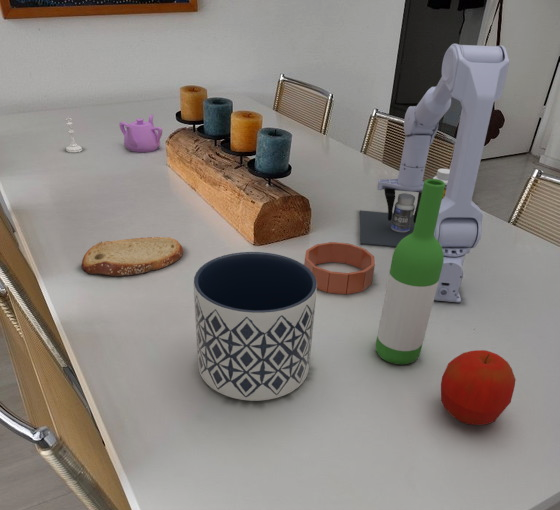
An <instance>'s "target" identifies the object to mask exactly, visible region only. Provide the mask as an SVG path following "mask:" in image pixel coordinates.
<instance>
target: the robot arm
mask: <svg viewBox="0 0 560 510" xmlns="http://www.w3.org/2000/svg"><path fill="white" fill-rule="evenodd" d="M509 68H510V59H509V54H508V51H507V49H506V47H505V45H502V44H501V45H477V44H476V45H475V44H471V45H470V44H458V43H452V44H451V45H450V46H449V47H448V48H447V50H446V51H445V53H444V56H443V58H442V64H441V77H440V79H439V80H438V83H437V84H436V86H431V87H430V88H428V90H427V91H426V92H425V94H424V95H423V96H422V98H421V99H420V100H419V102H418V103H417V104H416V105H415V106H414V105H413V106H412V105H411V106H409V107H408V108H407V109H406V112H405V115H404V120H403V132H404V135H405V137H404V143H403V147H402V153H401V158H400V165H399V169H398V176H397V178H389V179H388V178H387V179H385V178H378V181H377V186H376V187H377V191H383V190H384V196H385V200H386V204H387V213H388V220H389V221H391V219H392V213H393V211H394V206H395V200H396V191H399V192H410V193H412V192H413V193H418V195H417V201H416V207H415V209H414V213H413V215H414V218H413V220H414V223H415V222H416V217H417V213H418V208H419V204H420V199H421V194H422V190H423V185H424V182H425V180H424V175H425V172H426V171H425V170H426V166H427V161H428V156H429V151H430V147H431V146H432V145H433V143H434V139H435V136H436V134H437V132H438V131H439V126H440V125H439V123H440V120H441V119H442V118H443V117H444V115H445V114H446V113H447V112H448V111H449V109H450V108H451V105H452V98H453V99H455V100H457V101H458V102H459V103H460V105H461V114H460V117H459V123H458V126H457V127H458V128H457V133H456V138H455V142H454V146H453V147H454V148H453V153H452V157H451V163H450V168H449V170H450V172H449V177H448V182H447V187H446V193H445V197H444V198H443V199H442V201H441V205H440V210H439V214H438V219H437V223H436V227H435V232H434V237H435V238H436V239H437V240H438V242H439V243H440V245H441V247H442V250H443V255H444V261H443V266H442V270H441V274H440V277H439V282H438V286H437V290H436V294H435V298H434V301H437V302H439V301H440V302H450V303H461V302H462V299H461V295H460V288H461V285H462V281H463V278H464V268H463V265H464V261H465V258H466V255H468V254H470V253H471V249H474V248H476V247H477V246H478V244H479V242H480V241H481V238H482V234H483V233H482V232H483V226H482V225H483V218H484V213H483V210H482V209H481V208H480V207H479V206H478V205H477V204H476V203H475V202H474V201H473V196H474V191H475V188H476V183H477V179H478V173H479V170H480V166H481V160H482V156H483V151H484V147H485V143H486V138H487V134H488V129H489V125H490V120H491V116H492V111H493V107H494V104H495V102H497V101H498V100H500V99H501V98H502V95H503V91H504V89H505V84H506V80H507V76H508V71H509ZM423 180H424V181H423Z"/></svg>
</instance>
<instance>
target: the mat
mask: <svg viewBox="0 0 560 510" xmlns="http://www.w3.org/2000/svg"><path fill="white" fill-rule="evenodd" d="M393 214H394V212H392V219H393ZM413 218H414V214H413V217H412V222H411V227H410V230H409V231H408V232H405V233H401V232H396V231H394V230H392V229H391V224H392V219H391V221H389V220H388V212H381V211H369V210H359V224H360V225H359V234H360V235H359V236H360V237H359V238H360V245H363V246H374V247H375V246H377V247H387V248H396V247H397V245H398V243H399V242H400V241H401V240H402V239H403V238H405V237H406V236H408V235H409V234H412V233H413V230H414V226H415V223H414V220H413Z"/></svg>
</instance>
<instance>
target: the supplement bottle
mask: <svg viewBox="0 0 560 510" xmlns="http://www.w3.org/2000/svg"><path fill="white" fill-rule="evenodd" d="M449 172H450V168H439V169H437V172H436V175H435V176H433V177H432V179H438V180H441V181H443V182H444V183H445V188H444V192H443V197H442V199H443V198H444V197H445V193H446V187H447V182H448V177H449Z"/></svg>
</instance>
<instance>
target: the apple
mask: <svg viewBox="0 0 560 510" xmlns="http://www.w3.org/2000/svg"><path fill="white" fill-rule="evenodd" d="M516 380H517V379H516V377H515V374H514V371H513V368H512V367H511V365H510V363H509V362H508V360H506V359H505V358H504V357H502V356H501V355H499V354H497V353H495V352H492V351H488V350H485V349H478V350H468V351H465V352H462V353H460V354H459V355H458V356H456V357H454V358H453V359H452V360H450V361H449V362H448V364H447V365H446V368H445V370H444V372H443V375H442V377H441V382H440V401H441V404H442V405H443V408H444V409H445V410H446V411H447V412H448V413H449V415H450V416H452V417H453V418H454V419H455V420H457V421H458V422H461V423H462V424H466V425H471V426H477V425H479V426H480V425H482V426H483V425H484V426H485V425H488V424H491V423H495V422H496V421H497V419H498V418H500V416H501V414H502V413H503V412H504V411H506V409H507V408H508V406H510V404H511V402H512V399H513V395H514V390H515V386H516Z"/></svg>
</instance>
